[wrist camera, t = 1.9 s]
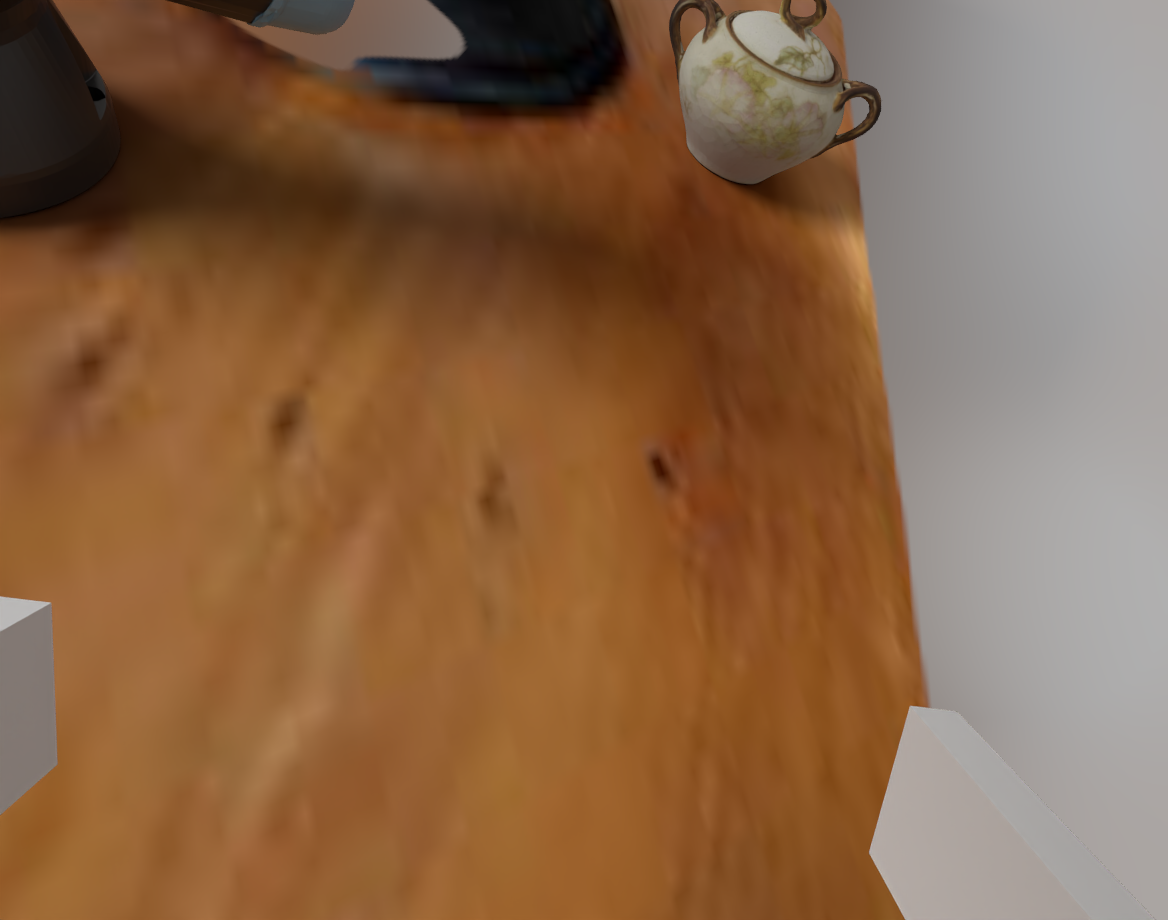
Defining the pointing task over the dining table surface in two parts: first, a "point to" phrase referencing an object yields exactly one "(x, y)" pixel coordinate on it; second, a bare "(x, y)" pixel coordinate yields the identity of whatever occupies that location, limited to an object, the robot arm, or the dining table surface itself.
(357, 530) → the dining table surface
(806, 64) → the sugar bowl
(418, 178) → the dining table surface
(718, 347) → the dining table surface
